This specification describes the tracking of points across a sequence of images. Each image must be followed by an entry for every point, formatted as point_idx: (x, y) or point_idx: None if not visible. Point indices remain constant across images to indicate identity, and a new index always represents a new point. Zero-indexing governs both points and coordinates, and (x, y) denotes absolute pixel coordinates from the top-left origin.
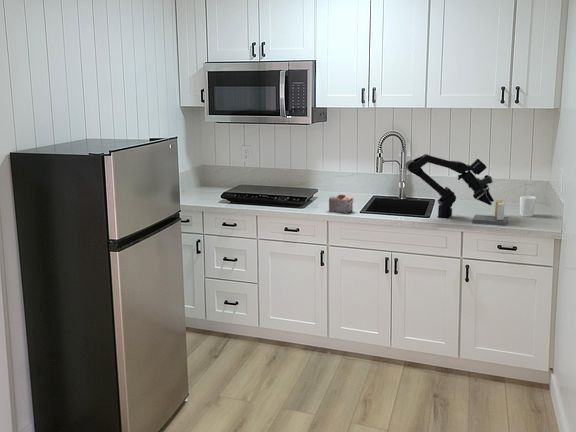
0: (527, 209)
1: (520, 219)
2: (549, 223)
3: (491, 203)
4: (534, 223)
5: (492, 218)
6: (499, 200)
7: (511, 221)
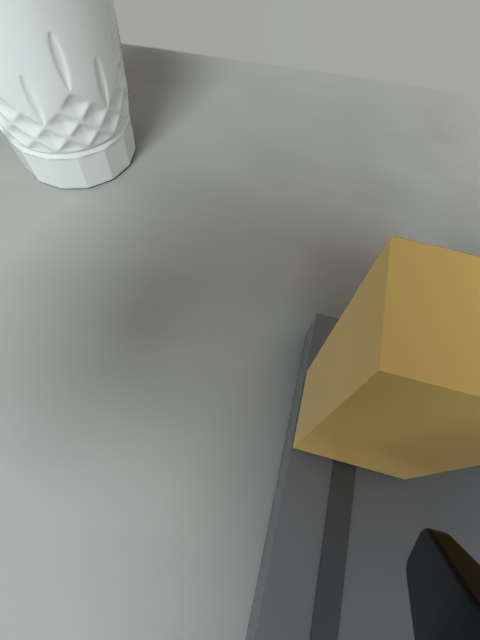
0: (122, 96)
1: (235, 220)
2: (340, 98)
3: (462, 548)
4: (364, 167)
5: (460, 525)
6: (399, 299)
7: (330, 303)
